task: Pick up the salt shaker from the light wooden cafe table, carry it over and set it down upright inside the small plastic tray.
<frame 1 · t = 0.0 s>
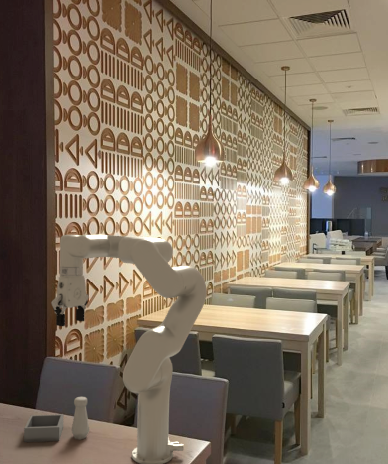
hand: (70, 323, 170), 37 cm above the table, tool pointing down, fingers open, 9 cm apart
tray: (44, 434, 170), on the table
salt shaker: (80, 437, 169), on the table
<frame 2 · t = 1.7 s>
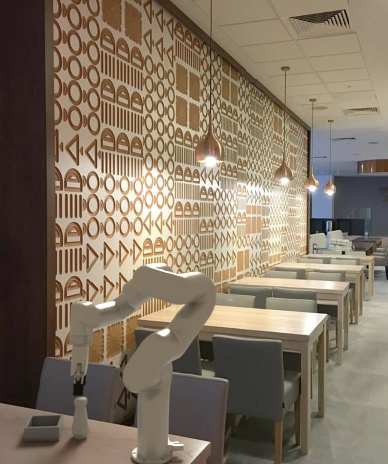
hand: (79, 390, 169), 15 cm above the table, tool pointing down, fingers open, 9 cm apart
nothing on the table moved.
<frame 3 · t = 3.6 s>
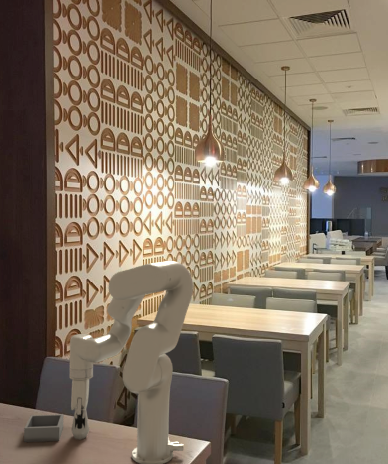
hand: (80, 427, 169), 3 cm above the table, tool pointing down, fingers closed on salt shaker, 3 cm apart
salt shaker: (80, 437, 169), on the table, touching gripper
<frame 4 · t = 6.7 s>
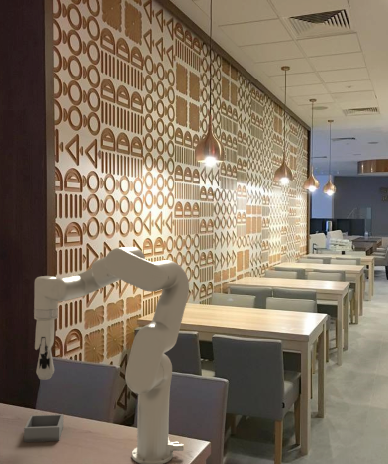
hand: (45, 368, 170), 22 cm above the table, tool pointing down, fingers closed on salt shaker, 3 cm apart
salt shaker: (45, 378, 170), point 19 cm above the table, touching gripper
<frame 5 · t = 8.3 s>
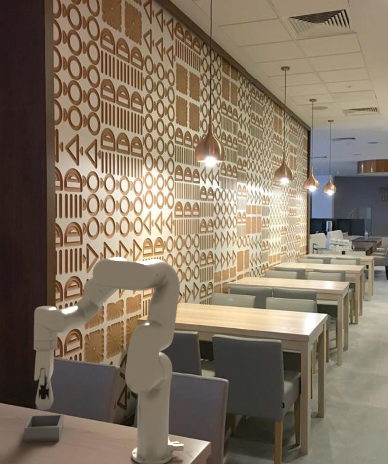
hand: (44, 398, 170), 12 cm above the table, tool pointing down, fingers closed on salt shaker, 3 cm apart
salt shaker: (44, 408, 170), point 9 cm above the table, touching gripper
when the fingers open (6 cm above the table, at t = 9.8 s): salt shaker drops 1 cm, resting on tray.
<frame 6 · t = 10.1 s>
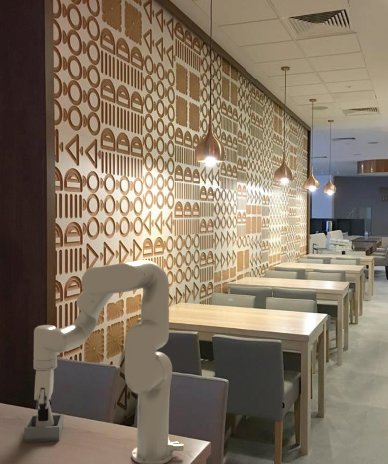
hand: (44, 416, 170), 6 cm above the table, tool pointing down, fingers open, 5 cm apart
salt shaker: (45, 431, 170), point 1 cm above the table, touching tray
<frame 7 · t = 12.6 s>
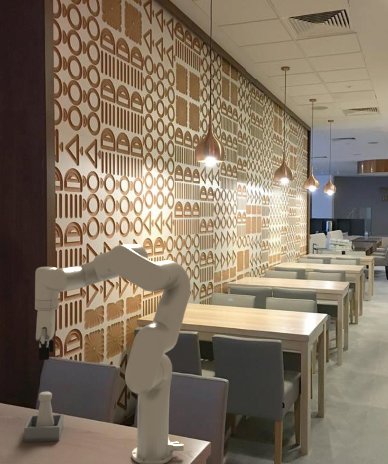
hand: (46, 355, 170), 26 cm above the table, tool pointing down, fingers open, 9 cm apart
nothing on the table moved.
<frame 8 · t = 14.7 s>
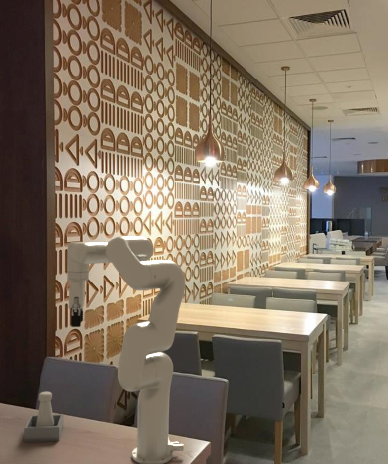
hand: (77, 323, 183), 34 cm above the table, tool pointing down, fingers open, 9 cm apart
nothing on the table moved.
at the end: salt shaker 0.2 cm off-centre on the tray, point 0.8 cm above the tray's base; salt shaker tilted 0°; the gripper is holding nothing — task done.
